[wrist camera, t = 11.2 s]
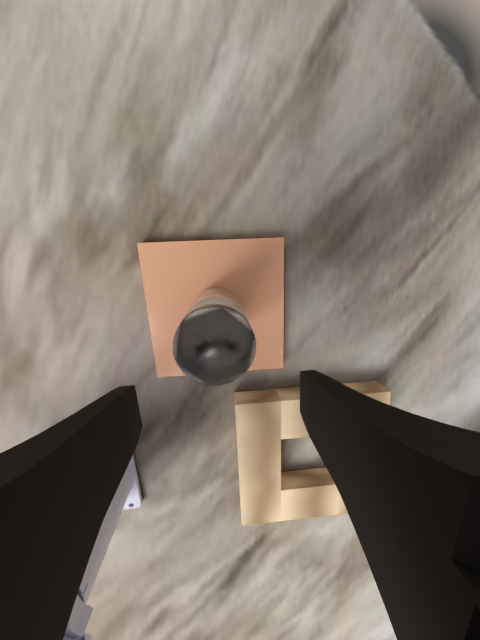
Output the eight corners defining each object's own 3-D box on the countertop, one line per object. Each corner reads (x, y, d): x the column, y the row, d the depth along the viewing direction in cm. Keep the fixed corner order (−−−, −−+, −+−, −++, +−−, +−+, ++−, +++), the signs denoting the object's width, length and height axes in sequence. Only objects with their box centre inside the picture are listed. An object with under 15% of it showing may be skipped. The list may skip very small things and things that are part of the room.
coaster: (159, 373, 21) (157, 377, 20) (140, 243, 18) (137, 242, 17) (281, 364, 21) (283, 368, 21) (281, 238, 19) (284, 237, 18)
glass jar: (195, 337, 19) (178, 389, 12) (189, 289, 18) (166, 310, 10) (243, 332, 19) (258, 381, 12) (240, 285, 18) (254, 303, 11)
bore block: (240, 505, 25) (241, 525, 23) (233, 392, 22) (235, 405, 20) (363, 491, 26) (374, 509, 24) (376, 380, 23) (391, 391, 21)
